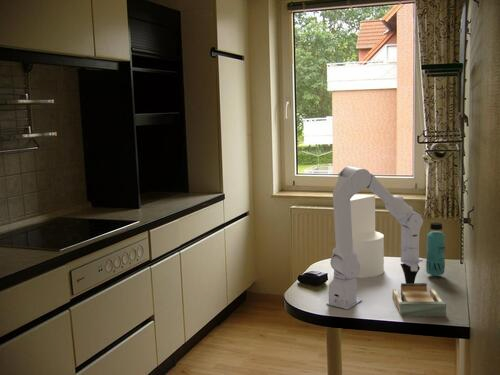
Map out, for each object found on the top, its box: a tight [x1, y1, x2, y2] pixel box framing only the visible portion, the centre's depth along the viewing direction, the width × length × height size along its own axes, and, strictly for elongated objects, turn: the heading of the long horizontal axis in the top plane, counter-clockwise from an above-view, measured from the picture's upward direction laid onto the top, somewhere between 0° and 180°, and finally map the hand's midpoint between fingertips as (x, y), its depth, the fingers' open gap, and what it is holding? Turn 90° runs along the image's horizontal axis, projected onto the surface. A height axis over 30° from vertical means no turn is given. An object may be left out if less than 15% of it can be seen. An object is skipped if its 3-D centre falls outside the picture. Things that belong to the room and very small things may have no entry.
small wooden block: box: [400, 282, 435, 302], centre depth 168 cm, size 12×8×5 cm, turn 175°
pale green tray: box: [392, 288, 447, 317], centre depth 167 cm, size 16×13×4 cm
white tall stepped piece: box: [350, 194, 385, 279], centre depth 203 cm, size 17×17×28 cm
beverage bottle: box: [425, 221, 446, 276], centre depth 193 cm, size 6×7×20 cm
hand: (409, 285), depth 179 cm, fingers closed
